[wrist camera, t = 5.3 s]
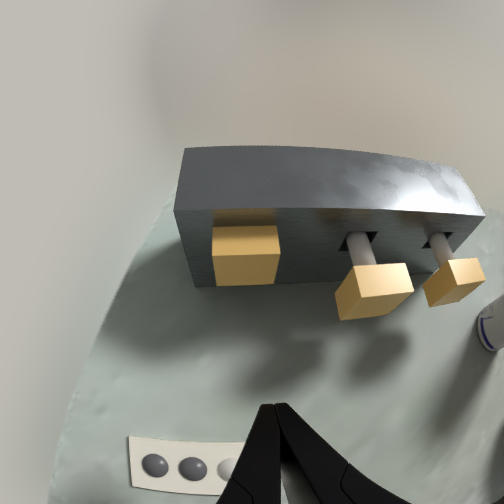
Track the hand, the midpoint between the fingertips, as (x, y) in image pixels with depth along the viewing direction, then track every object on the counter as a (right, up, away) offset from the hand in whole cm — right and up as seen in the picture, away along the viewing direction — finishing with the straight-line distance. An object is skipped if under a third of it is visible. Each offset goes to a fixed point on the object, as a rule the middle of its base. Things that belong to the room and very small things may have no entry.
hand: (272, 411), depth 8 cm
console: (+6, +5, +17) cm, 19 cm away
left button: (-1, +6, +13) cm, 14 cm away
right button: (+15, +4, +12) cm, 20 cm away
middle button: (+7, +4, +12) cm, 14 cm away
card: (-5, -10, +7) cm, 13 cm away
